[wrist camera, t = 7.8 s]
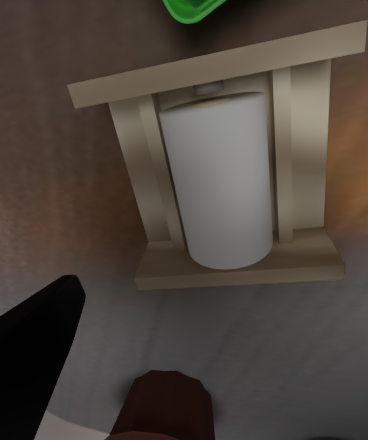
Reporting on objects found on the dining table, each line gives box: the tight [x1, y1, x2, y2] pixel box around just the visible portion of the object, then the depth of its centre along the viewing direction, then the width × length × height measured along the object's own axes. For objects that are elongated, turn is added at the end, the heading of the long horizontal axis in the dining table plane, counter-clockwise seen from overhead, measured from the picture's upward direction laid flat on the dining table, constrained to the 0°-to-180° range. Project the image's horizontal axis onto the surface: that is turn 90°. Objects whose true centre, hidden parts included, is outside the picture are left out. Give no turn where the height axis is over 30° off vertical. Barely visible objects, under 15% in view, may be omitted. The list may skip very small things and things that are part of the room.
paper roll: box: [159, 92, 273, 269], centre depth 16 cm, size 8×5×5 cm, turn 11°
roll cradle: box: [67, 20, 367, 291], centre depth 17 cm, size 12×12×5 cm
